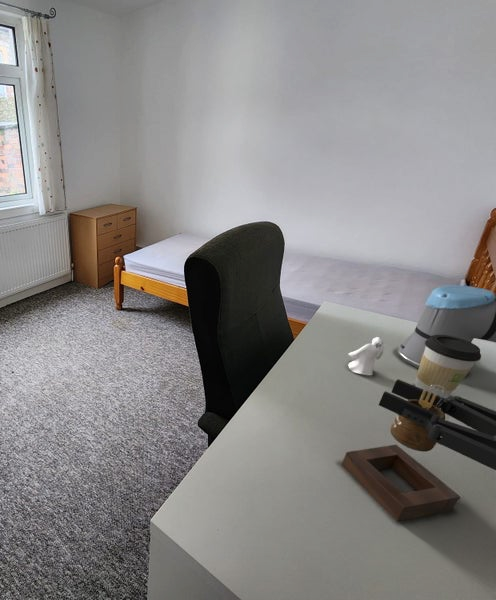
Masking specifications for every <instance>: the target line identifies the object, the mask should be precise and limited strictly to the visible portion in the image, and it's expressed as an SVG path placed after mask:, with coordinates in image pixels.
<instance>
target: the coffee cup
mask: <svg viewBox="0 0 496 600" xmlns="http://www.w3.org/2000/svg"><path fill="white" fill-rule="evenodd" d="M425 345H426V347H425V351H424V352H423V355H422V359H421V362H420V366H419V369H417V370H418V371H417V374H416V381H415V385H414V386H416V387H418V388H421V389H423V390H426V391H428V392H430V391H431V393H433V394H436V395H438V396H440V397H443V398H445V399H446V398H450V396H451V394H453V392H454V391H455V390H457V388H458V387H459V385H460V384H461V383H462V381H463V380H464V379H465V377H467V375H468V374H469V372H470V371H471V370H472V368H473V366H474V364H476V362H478V361H481V359H482V353H481V348H480V347H479V346H478V345H476V344H475V343H473V342H469V341H466V340H463V339H460V338H457V337H453V336H448V335H433V336H431V337H430V338H429V339H427V340H426V341H425ZM432 385H433V386H432ZM435 385H436V386H435ZM438 385H439V386H438ZM430 386H431V387H430ZM434 386H435V387H434ZM440 386H442V387H440ZM432 387H433V388H432ZM443 387H444V388H445V389H444V388H443ZM428 388H429V389H428ZM442 388H443V389H442ZM431 389H432V390H431ZM437 389H438V390H437ZM439 389H440V390H439ZM429 390H430V391H429ZM436 391H437V392H436ZM438 391H439V392H438ZM446 392H447V395H446ZM437 393H438V394H437ZM444 393H445V394H444ZM442 394H443V395H444V396H443V395H442ZM445 396H446V397H445Z"/></svg>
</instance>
